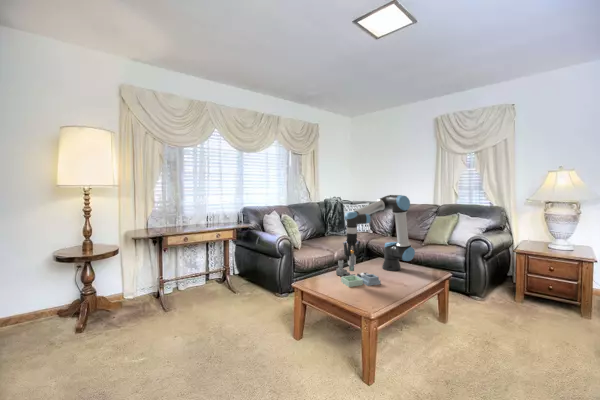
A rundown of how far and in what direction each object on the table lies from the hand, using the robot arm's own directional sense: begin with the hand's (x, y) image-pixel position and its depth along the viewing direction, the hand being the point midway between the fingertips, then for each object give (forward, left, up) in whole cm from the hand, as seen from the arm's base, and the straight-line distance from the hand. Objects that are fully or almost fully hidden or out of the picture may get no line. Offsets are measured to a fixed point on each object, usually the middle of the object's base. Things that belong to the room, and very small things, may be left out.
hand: (351, 264), depth 214 cm
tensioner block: (-14, 0, -14) cm, 20 cm away
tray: (0, 0, -14) cm, 14 cm away
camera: (-3, -18, -15) cm, 23 cm away
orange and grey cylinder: (0, 0, -4) cm, 4 cm away
